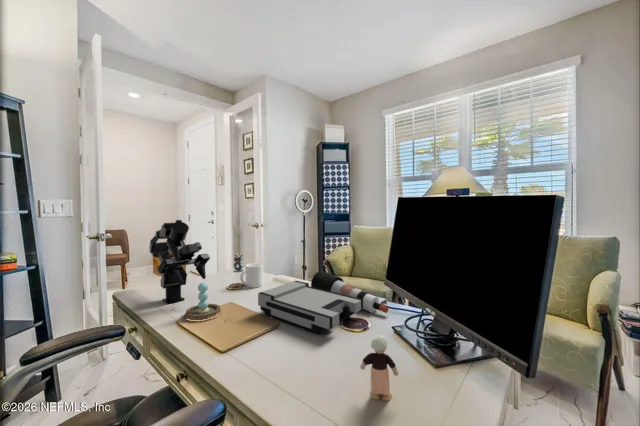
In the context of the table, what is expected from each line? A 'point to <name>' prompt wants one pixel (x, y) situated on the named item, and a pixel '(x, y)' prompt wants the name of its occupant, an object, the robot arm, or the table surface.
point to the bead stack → (203, 299)
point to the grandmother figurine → (379, 369)
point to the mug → (253, 275)
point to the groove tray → (193, 314)
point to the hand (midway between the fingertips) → (194, 281)
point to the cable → (346, 290)
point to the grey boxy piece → (307, 306)
